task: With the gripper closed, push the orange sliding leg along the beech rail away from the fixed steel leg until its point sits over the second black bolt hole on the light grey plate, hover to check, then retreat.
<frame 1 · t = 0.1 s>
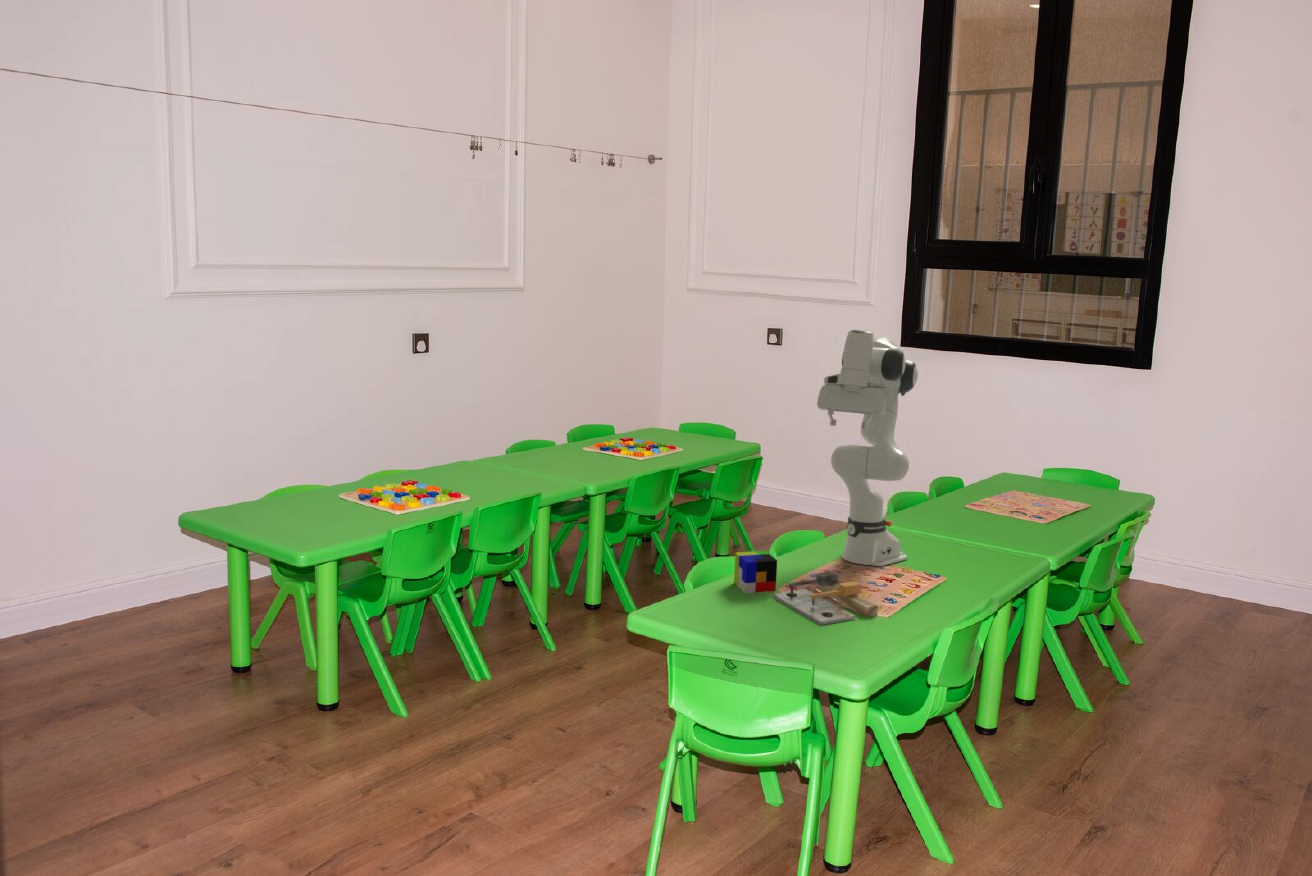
hand: (848, 427, 312), 52 cm above the table, tool tilted 20°, fingers open, 8 cm apart
puzzle toy: (754, 587, 325), on the table
bolt plate: (812, 607, 308), on the table
dividers rail: (845, 602, 314), on the table
sliding leg: (834, 593, 309), point 4 cm above the table, slide at 0.0 cm
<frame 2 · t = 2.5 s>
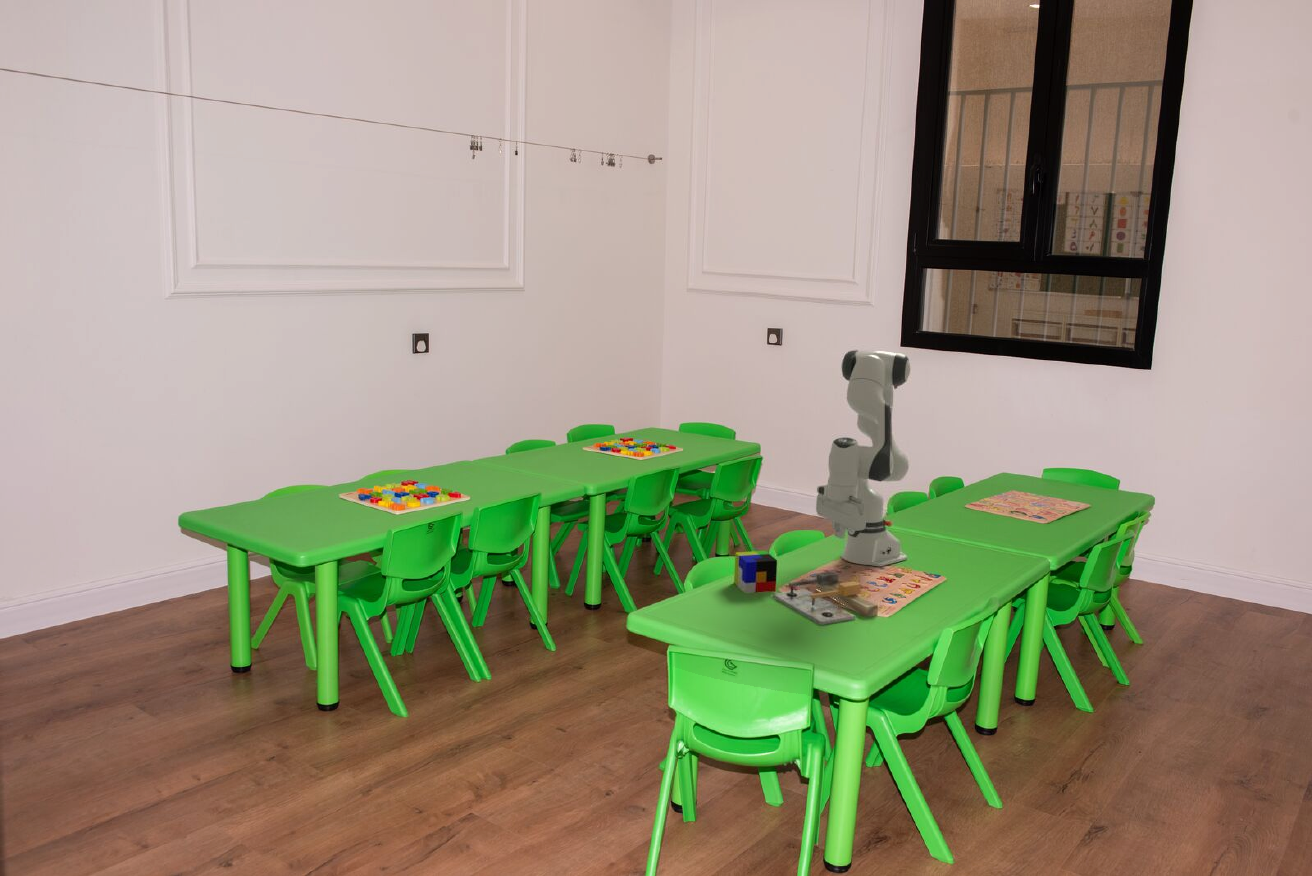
hand: (839, 537, 314), 19 cm above the table, tool pointing down, fingers closed
nothing on the table moved.
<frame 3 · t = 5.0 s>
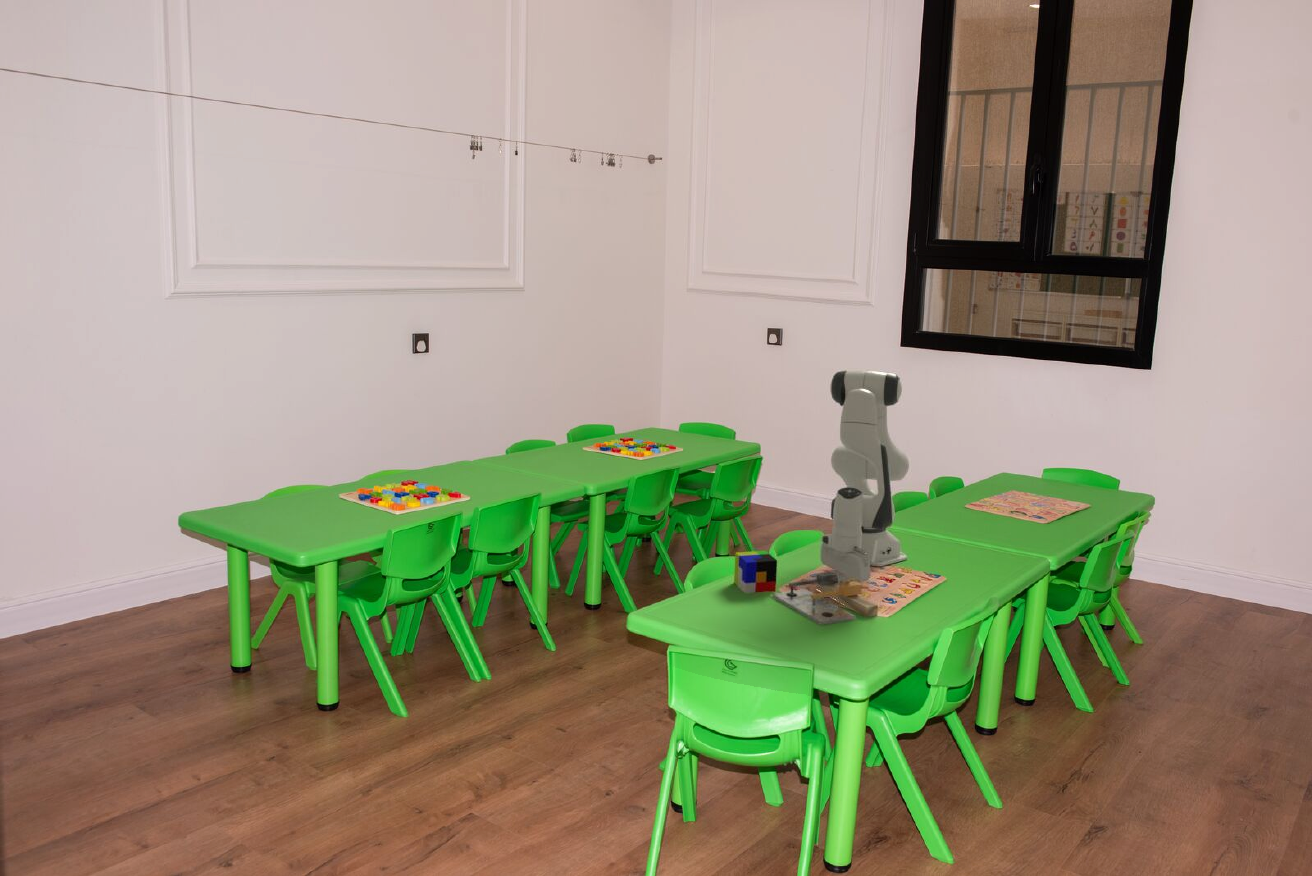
hand: (843, 586, 314), 5 cm above the table, tool pointing down, fingers closed
sliding leg: (835, 594, 309), point 4 cm above the table, slide at 0.3 cm, touching gripper
everything else where it was.
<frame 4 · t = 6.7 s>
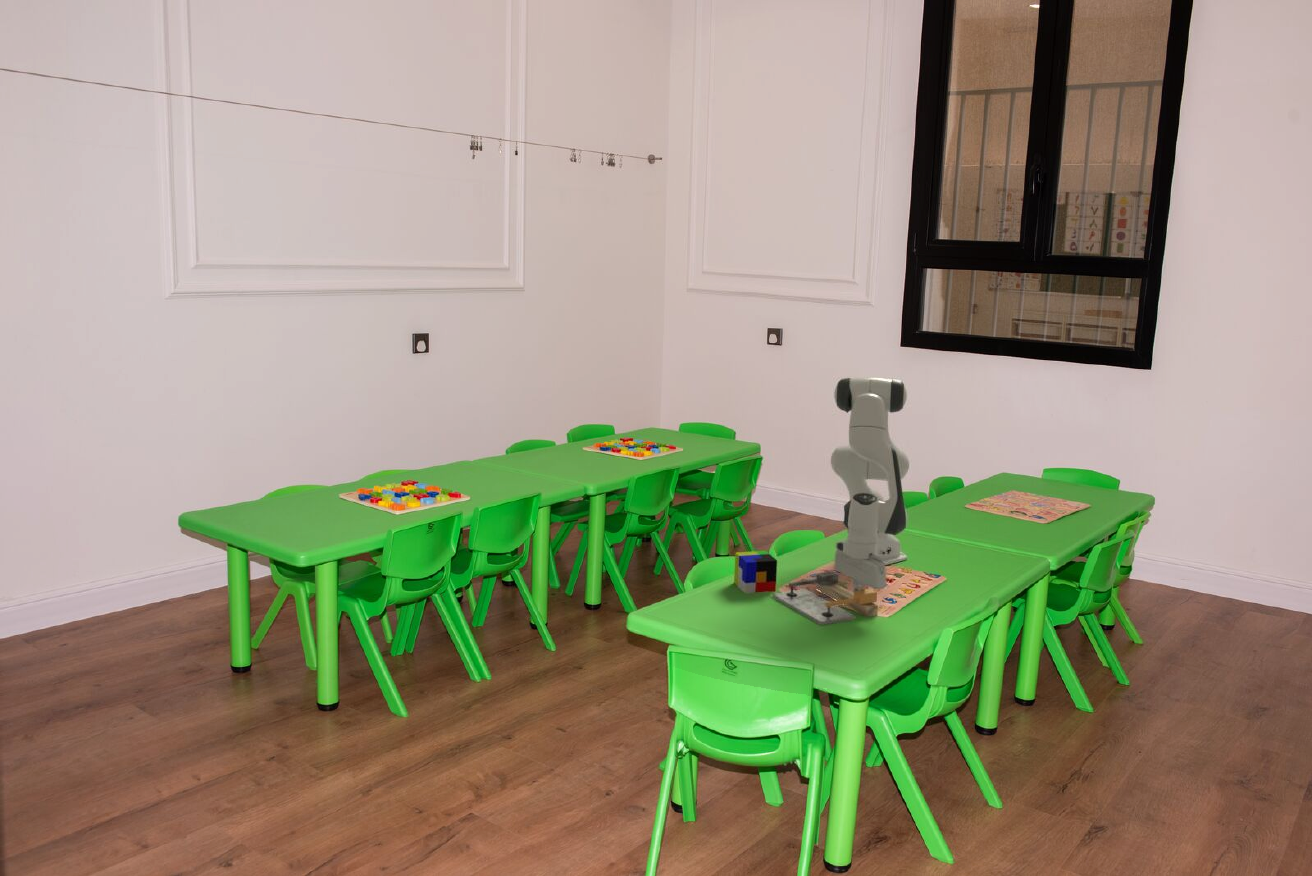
hand: (858, 594, 307), 5 cm above the table, tool pointing down, fingers closed
sliding leg: (850, 602, 302), point 4 cm above the table, slide at 7.5 cm, touching gripper
everything else where it was.
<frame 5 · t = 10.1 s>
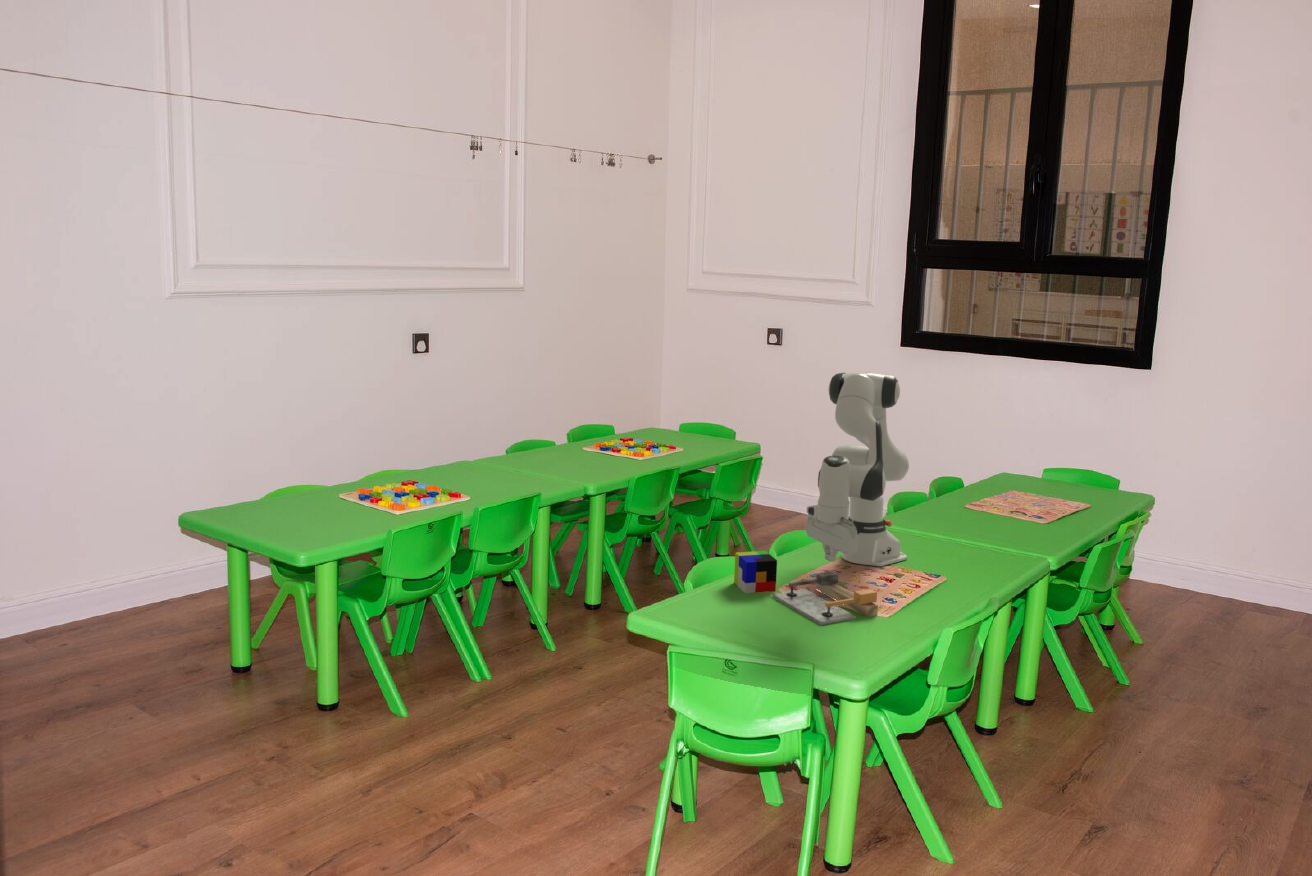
hand: (830, 560, 298), 17 cm above the table, tool pointing down, fingers closed
sliding leg: (850, 602, 302), point 4 cm above the table, slide at 7.5 cm
everything else where it was.
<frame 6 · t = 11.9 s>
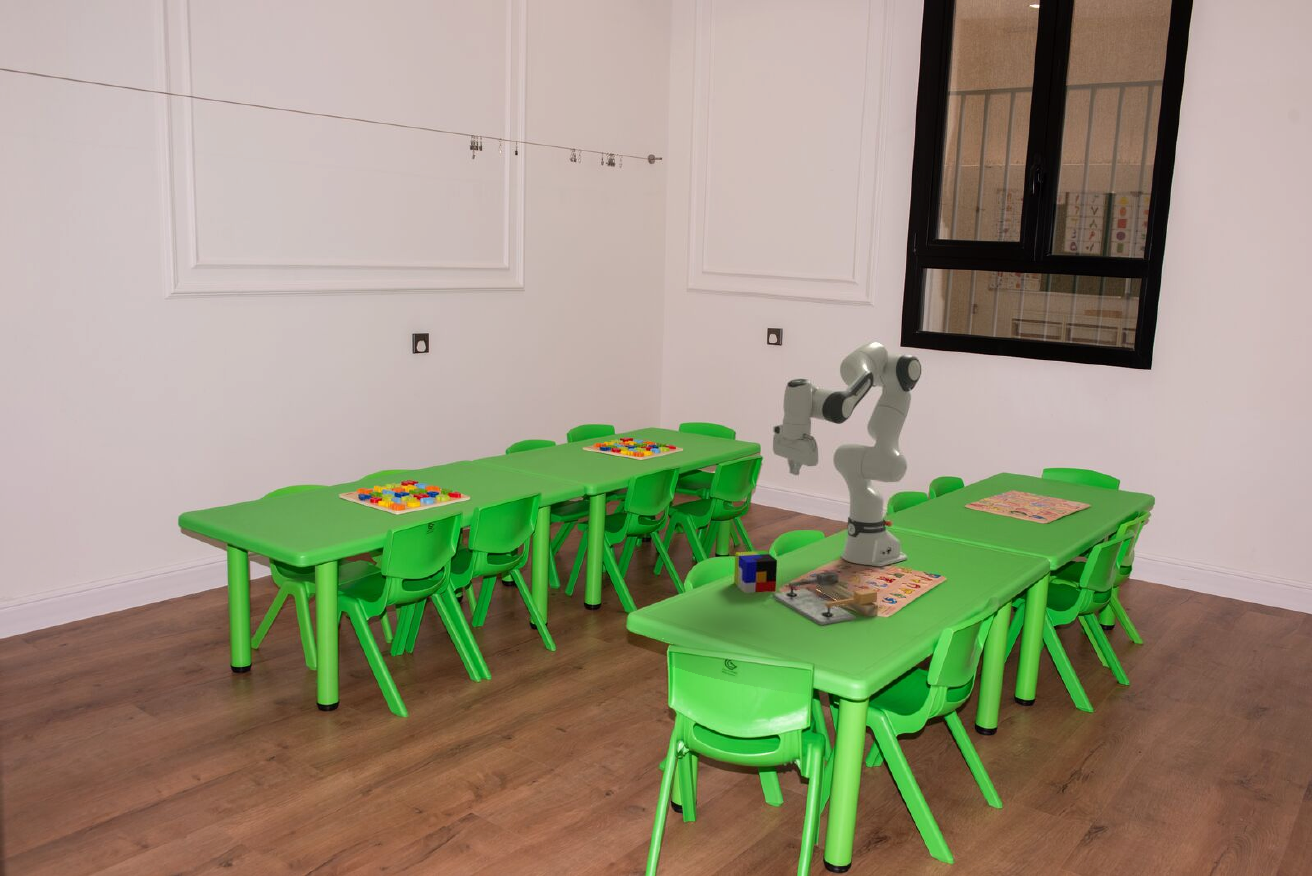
hand: (794, 474, 330), 34 cm above the table, tool pointing down, fingers closed
nothing on the table moved.
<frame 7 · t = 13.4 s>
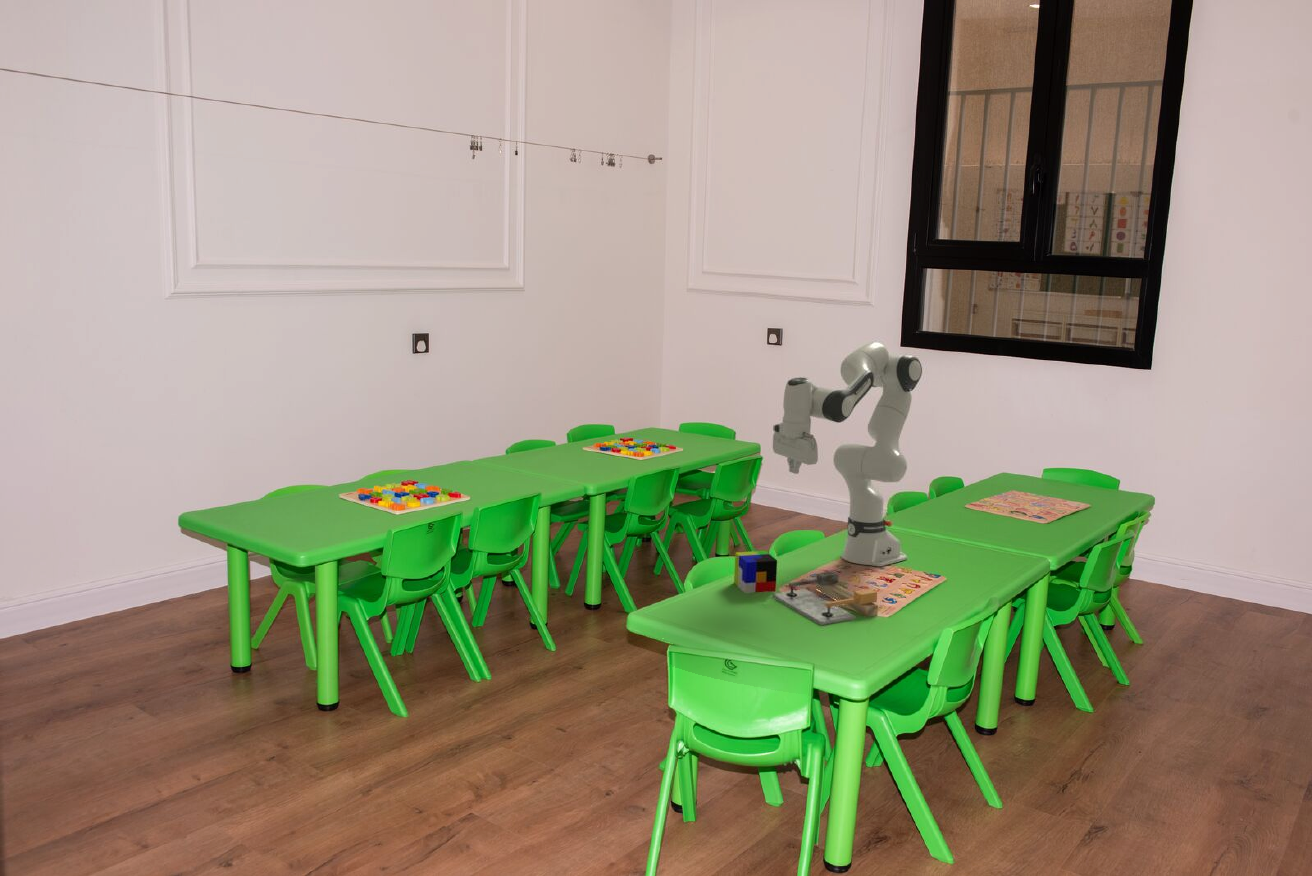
hand: (793, 472, 330), 34 cm above the table, tool pointing down, fingers closed
nothing on the table moved.
at the end: sliding leg slide at 7.5 cm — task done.
